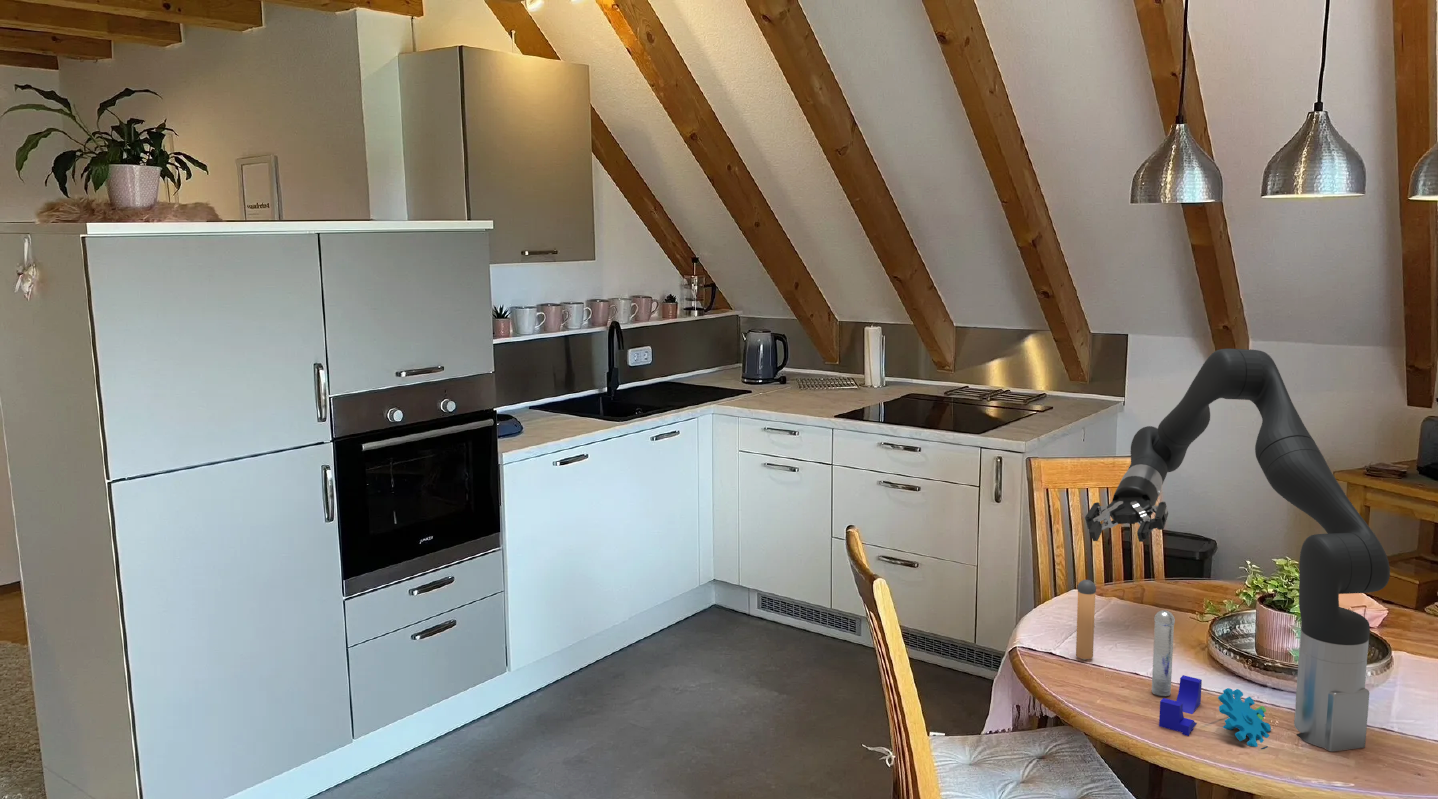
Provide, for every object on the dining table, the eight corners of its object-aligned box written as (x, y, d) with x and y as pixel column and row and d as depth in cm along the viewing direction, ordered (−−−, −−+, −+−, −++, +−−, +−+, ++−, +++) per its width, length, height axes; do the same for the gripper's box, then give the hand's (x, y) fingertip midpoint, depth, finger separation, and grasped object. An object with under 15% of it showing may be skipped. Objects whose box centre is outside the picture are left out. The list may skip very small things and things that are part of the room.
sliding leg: (1097, 659, 196) (1100, 581, 193) (1084, 663, 194) (1087, 584, 191) (1083, 653, 198) (1086, 576, 196) (1071, 657, 197) (1073, 579, 194)
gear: (1252, 751, 161) (1214, 690, 166) (1222, 766, 165) (1186, 706, 170) (1289, 739, 168) (1251, 680, 173) (1259, 754, 172) (1223, 696, 177)
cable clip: (1187, 744, 168) (1189, 708, 167) (1158, 736, 171) (1160, 701, 170) (1209, 715, 177) (1211, 681, 176) (1181, 708, 180) (1182, 675, 179)
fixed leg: (1175, 696, 181) (1179, 612, 178) (1162, 701, 179) (1166, 615, 177) (1159, 689, 184) (1163, 606, 181) (1146, 694, 182) (1150, 609, 179)
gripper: (1097, 475, 212) (1074, 520, 201) (1172, 473, 203) (1151, 520, 192) (1106, 507, 215) (1083, 553, 203) (1180, 507, 206) (1160, 555, 194)
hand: (1116, 537), depth 198 cm, fingers open, 8 cm apart
